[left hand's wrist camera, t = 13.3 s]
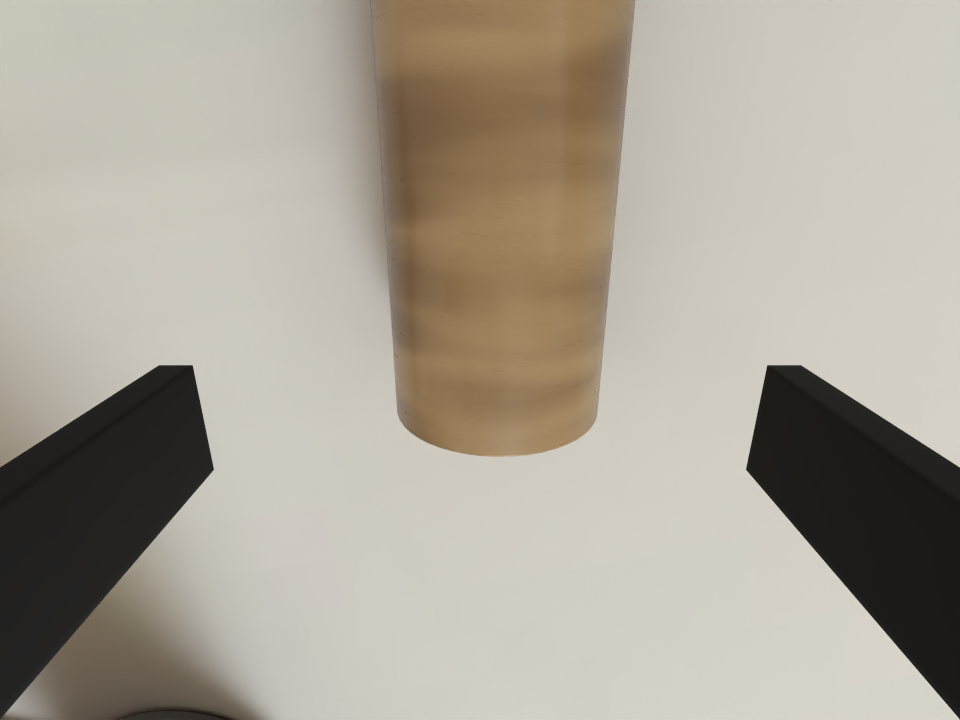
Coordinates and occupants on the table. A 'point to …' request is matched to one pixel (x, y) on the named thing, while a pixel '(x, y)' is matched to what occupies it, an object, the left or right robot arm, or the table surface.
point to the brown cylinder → (500, 212)
